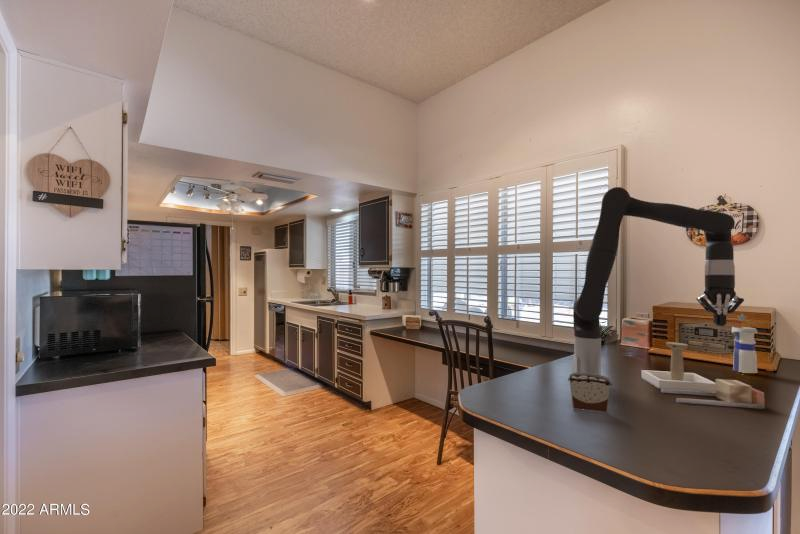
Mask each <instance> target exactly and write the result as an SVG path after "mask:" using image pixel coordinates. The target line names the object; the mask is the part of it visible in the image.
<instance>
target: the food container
mask: <svg viewBox="0 0 800 534" xmlns="http://www.w3.org/2000/svg"><path fill="white" fill-rule="evenodd" d="M567 382H569V386H570V396H571V403H572V409H573V408H576V409H575V410H579V409H584V410H583V411H587V410H591V411H590V412H596V411H599V412H598V413H604V412H607V413H608V410H609V401H610V394H611V393H610V392H611V387H614V385H613V382H612V379H611V378H609V377H607V376H604V375H602V374H601V375H597V374H591V373H573V372H572V373H570V374H569V375H568V378H567Z"/></svg>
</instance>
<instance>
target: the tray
mask: <svg viewBox="0 0 800 534" xmlns="http://www.w3.org/2000/svg"><path fill="white" fill-rule="evenodd" d="M641 379H643V380H644V381H646V382H648V384H651V385H652V386H653V385H654V387H655V388H657V389H658V388H659V389H658V390H661V388H663V389H678V390H693V391H708V392H716V384H715V382H714V381H712V380H710V379H708V378H706V377H705V376H704V377H703V376H702V375H699V374H697V373H695V372H684V376H683V380H682V381H677V380H671V379H672V378H671V371H667V370H666V371H664V370H663V371H662V370H649V369H648V370H646V369H645V370H644V369H641Z"/></svg>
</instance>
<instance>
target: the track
mask: <svg viewBox="0 0 800 534" xmlns="http://www.w3.org/2000/svg"><path fill="white" fill-rule="evenodd" d="M660 392H661V393H662V394H663V393H664V394H676V395H677V394H678V395H690V396H691V395H692V396H703V397H704V396H706V397H716V392H708V391H693V390H678V389H663V388H661V389H660ZM676 403H681V404H693V405H695V404H696V405H707V406H708V405H709V406H719V407H733V408H734V407H735V408H747V409H748V408H749V409H761V410H762V409H763V410H765V409H766V407H765V392H763V391H761V390H759V389H756V388H754V387H752V403H743V402H729V401H723V400H713V399H701V398H700V399H698V398H684V397H676Z"/></svg>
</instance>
